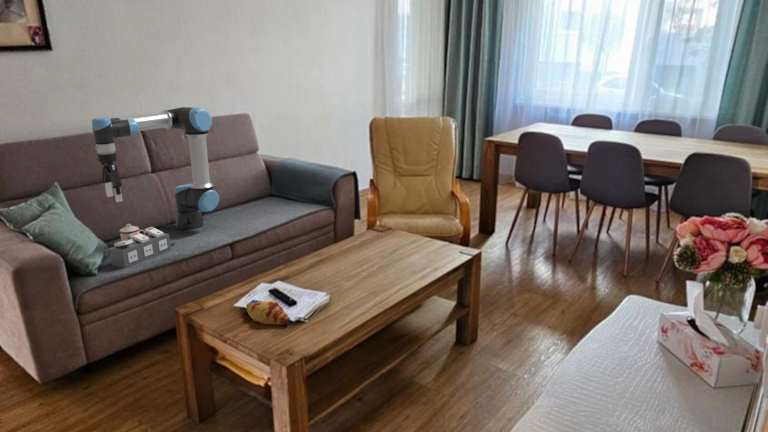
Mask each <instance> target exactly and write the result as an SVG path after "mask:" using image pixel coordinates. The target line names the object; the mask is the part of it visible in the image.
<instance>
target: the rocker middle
mask: <svg viewBox="0 0 768 432" xmlns="http://www.w3.org/2000/svg"><path fill="white" fill-rule="evenodd" d="M145 235H146V234H145ZM145 235H143V233H140V232H139V233H138V232H135V233H132V234H130V237H131V238H133V239H135V240H137V241H139V242H141V243H143V242H146V241H149V237H147V236H145Z"/></svg>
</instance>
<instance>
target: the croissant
mask: <svg viewBox="0 0 768 432" xmlns="http://www.w3.org/2000/svg"><path fill="white" fill-rule="evenodd" d="M245 309H246V311H247V313H248V315H249V317H250V318H251V319H252V320H253V321H254V322H257V323H258V322H259V323H260V324H264V325H277V326H281V325H285V324H288V323H290V321H291V317H289V316H288V313H286V311H284V308H283V307H282V306H280V303H279V302H278V301H276V300H268V301H257V302H256V301H254V302H248V303H247V304H246V305H245Z"/></svg>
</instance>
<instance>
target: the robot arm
mask: <svg viewBox="0 0 768 432" xmlns="http://www.w3.org/2000/svg"><path fill="white" fill-rule="evenodd" d="M212 125H213V119H212V115H211V113H210V112H209V111H208V110H206V109H204V108H201V107H191V106H190V107H189V106H188V107H185V106H183V107H181V106H180V107H176V108H172V109H165V110H162V111H161V112H158V113H147V114H139V115H130V116H129V115H128V116H121V117H113V118H110V117H107V116H106V117H97V118H96V117H95V118H93V119H92V121H91V127H92V129H91V130H92V133H93V138H94V143H95V146H94V149H96V153H97V159H98V162H99V163H100V164H101V174H102V175H101V176H102V181H103V183H104V187H105V194H106V198H111V197H114V198H115V202H116V203H121V202H123V201H124V199H123V195H122V188H121V187H122V186H123V184H122V181H121V179H120V174H119V172H118V168H117V165H116V164H114V162H117V161H118V157H117V153H116V150H117V149H116V145H115V144H116V143H115V139H119V138H125V137H132V136H136V135H137V134H138V133H139V132H141V131H149V130H150V131H151V130H158V129H163V128H164V129H166V130H175V129H176V130H184V135H185V136H186V137H187V139H188V147H189V156H190V165H191V166H190V167H191V175H192V183H186V184H180V185H178V186H175V187H174V196H175V203H176V204H175V206H176V211H177V214H176V219H175V228H176V229H178V230H192V229H197V228H200V227H201V228H202V227H203V226H204V225H205V223H206V221H205V219H204V216H203V214H202V212H212V211H214V210H215V209H216V207H217V206H218V205H219V201H220V196H219V193H218V192H217V191H216V190H215V189H214V184H213V183H212V182H211V177H210V167H209V157H208V145H207V136H208V135H209V130H210V129H211V127H212Z"/></svg>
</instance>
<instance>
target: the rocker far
mask: <svg viewBox="0 0 768 432" xmlns="http://www.w3.org/2000/svg"><path fill="white" fill-rule="evenodd" d="M130 243H133V239H131V240H125V241H121V240H120V241H117V242H115V243H113V245H114V246H113V247H116V246H122V245H127V244H130Z"/></svg>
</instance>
